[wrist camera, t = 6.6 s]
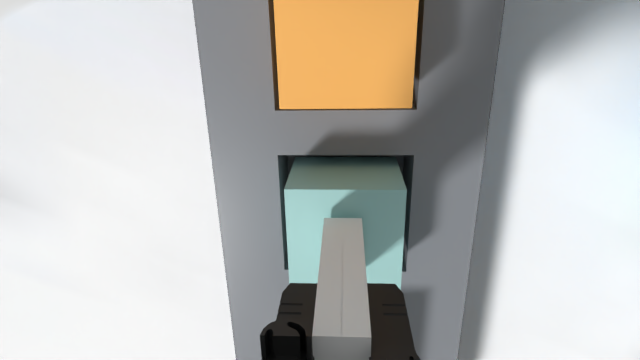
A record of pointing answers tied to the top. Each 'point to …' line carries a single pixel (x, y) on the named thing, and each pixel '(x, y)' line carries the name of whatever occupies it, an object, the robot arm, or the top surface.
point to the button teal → (346, 212)
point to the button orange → (345, 53)
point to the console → (350, 141)
